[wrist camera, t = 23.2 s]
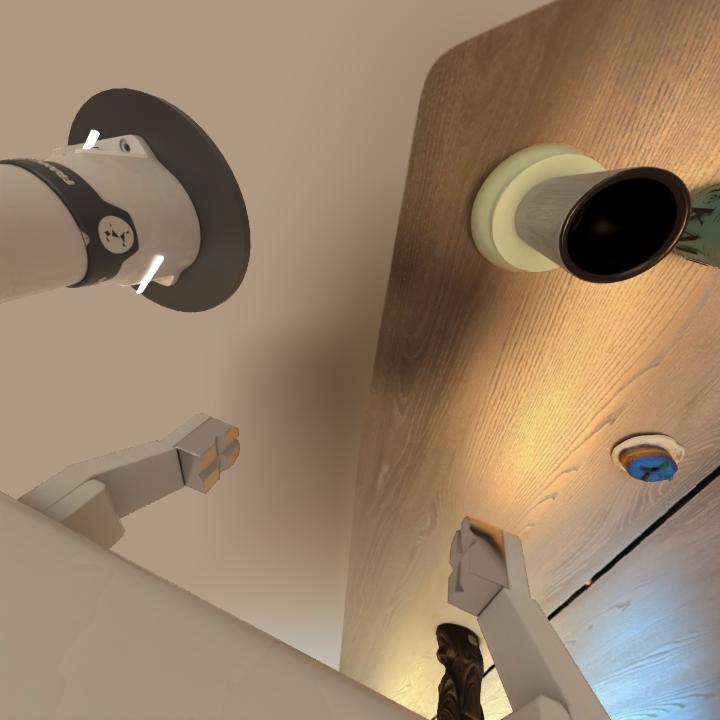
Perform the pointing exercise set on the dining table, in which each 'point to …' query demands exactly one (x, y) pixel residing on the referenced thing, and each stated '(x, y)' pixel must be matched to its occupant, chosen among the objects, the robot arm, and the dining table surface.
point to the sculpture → (459, 674)
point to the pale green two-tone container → (505, 195)
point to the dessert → (649, 457)
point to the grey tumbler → (606, 221)
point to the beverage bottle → (702, 229)
